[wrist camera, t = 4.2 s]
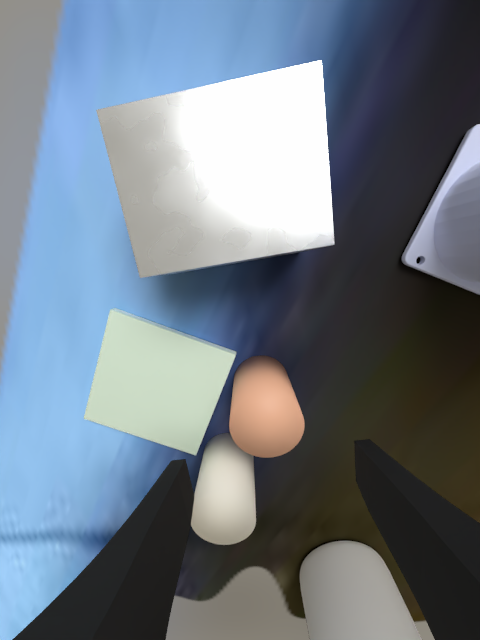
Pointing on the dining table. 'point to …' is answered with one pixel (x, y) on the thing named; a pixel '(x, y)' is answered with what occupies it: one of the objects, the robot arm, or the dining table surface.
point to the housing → (223, 171)
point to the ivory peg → (224, 493)
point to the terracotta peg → (264, 409)
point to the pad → (157, 382)
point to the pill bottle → (352, 595)
